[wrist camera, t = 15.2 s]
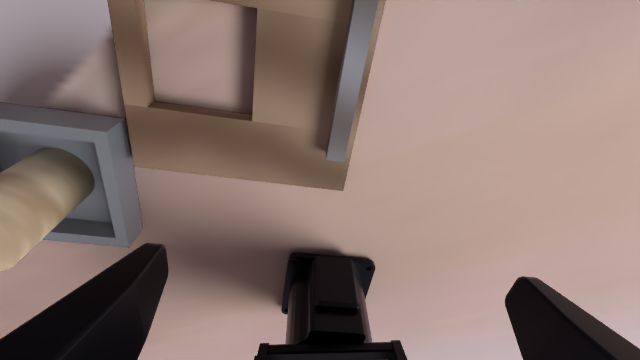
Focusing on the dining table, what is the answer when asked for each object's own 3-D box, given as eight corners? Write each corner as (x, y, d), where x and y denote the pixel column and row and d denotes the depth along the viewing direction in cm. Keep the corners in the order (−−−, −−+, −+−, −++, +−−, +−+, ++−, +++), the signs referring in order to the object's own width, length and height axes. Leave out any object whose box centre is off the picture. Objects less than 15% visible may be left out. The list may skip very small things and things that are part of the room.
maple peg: (99, 202, 21) (29, 274, 15) (39, 196, 20) (-54, 267, 15) (87, 152, 19) (3, 214, 14) (20, 144, 18) (-93, 205, 13)
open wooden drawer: (341, 182, 21) (344, 200, 19) (141, 158, 20) (125, 175, 18) (432, -236, 12) (453, -273, 10) (71, -326, 11) (25, -387, 9)
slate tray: (143, 227, 22) (129, 247, 21) (18, 215, 22) (-7, 234, 20) (125, 118, 18) (106, 132, 17) (-29, 98, 18) (-66, 110, 16)
